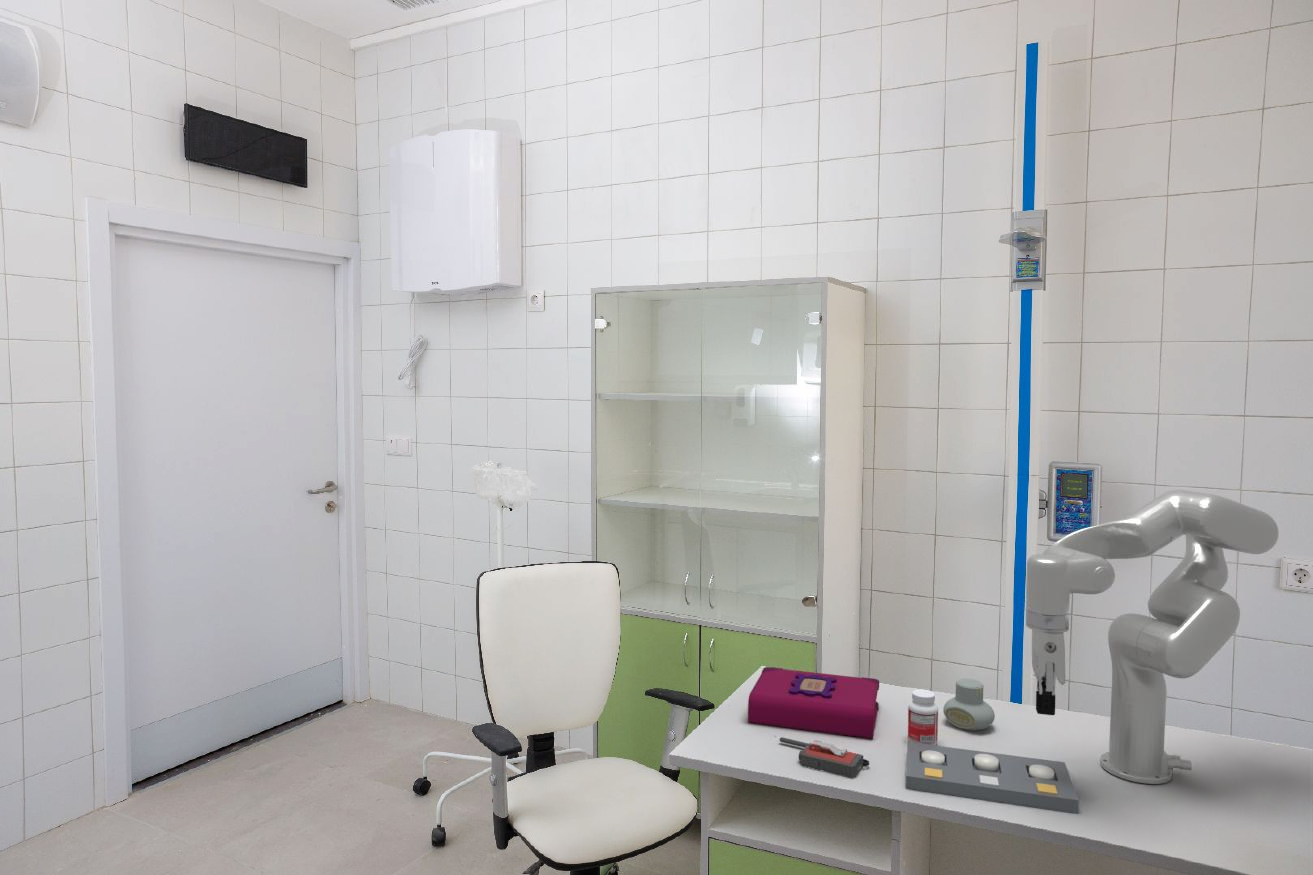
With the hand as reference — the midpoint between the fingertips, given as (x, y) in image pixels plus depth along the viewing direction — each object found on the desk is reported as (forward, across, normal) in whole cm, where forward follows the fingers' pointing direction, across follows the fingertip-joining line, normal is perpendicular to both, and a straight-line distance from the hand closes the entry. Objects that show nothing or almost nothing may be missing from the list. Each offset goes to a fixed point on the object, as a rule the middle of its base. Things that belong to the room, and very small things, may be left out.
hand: (1045, 712), depth 161 cm
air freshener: (+15, +26, +12) cm, 32 cm away
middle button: (+12, 0, +10) cm, 16 cm away
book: (+15, +21, +47) cm, 53 cm away
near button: (+13, 0, 0) cm, 13 cm away
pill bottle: (+14, +13, +22) cm, 30 cm away
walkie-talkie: (+14, -3, +43) cm, 45 cm away
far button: (+13, 0, +20) cm, 24 cm away
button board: (+14, -2, +10) cm, 18 cm away
